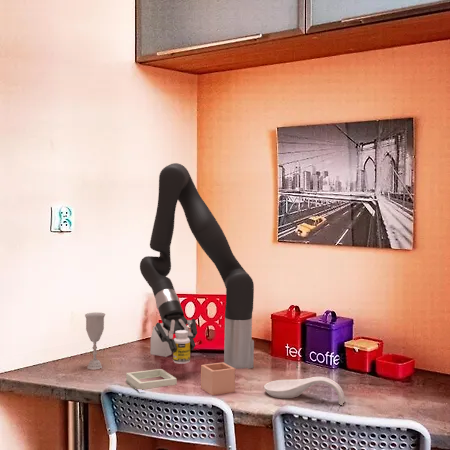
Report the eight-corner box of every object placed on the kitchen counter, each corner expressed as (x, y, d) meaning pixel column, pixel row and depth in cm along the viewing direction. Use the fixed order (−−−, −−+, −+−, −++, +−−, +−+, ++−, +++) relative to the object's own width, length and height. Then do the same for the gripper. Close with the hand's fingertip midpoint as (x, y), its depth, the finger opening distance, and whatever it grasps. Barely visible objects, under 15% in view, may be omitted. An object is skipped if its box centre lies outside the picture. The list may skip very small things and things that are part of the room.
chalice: (100, 371, 224) (100, 317, 223) (80, 369, 226) (81, 316, 224) (108, 365, 231) (108, 313, 230) (89, 363, 233) (89, 311, 232)
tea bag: (166, 356, 244) (166, 329, 243) (150, 354, 247) (150, 327, 247) (171, 354, 247) (171, 327, 247) (156, 352, 251) (156, 325, 250)
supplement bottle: (177, 365, 211) (176, 334, 211) (170, 360, 216) (170, 330, 215) (193, 362, 214) (192, 332, 213) (186, 358, 219) (185, 328, 218)
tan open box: (222, 387, 208) (223, 362, 208) (234, 395, 202) (235, 368, 201) (200, 391, 205) (201, 365, 204) (212, 398, 198) (212, 371, 198)
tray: (161, 377, 218) (161, 368, 218) (176, 387, 208) (176, 378, 208) (126, 381, 213) (126, 373, 213) (139, 392, 202) (139, 383, 202)
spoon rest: (259, 401, 197) (259, 377, 197) (269, 389, 208) (269, 366, 208) (341, 411, 190) (341, 386, 190) (346, 398, 201) (347, 374, 201)
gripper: (151, 301, 217) (166, 346, 207) (192, 297, 223) (208, 340, 214) (145, 314, 222) (159, 359, 212) (185, 310, 229) (201, 353, 219)
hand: (184, 349), depth 213 cm, fingers closed on supplement bottle, 5 cm apart
